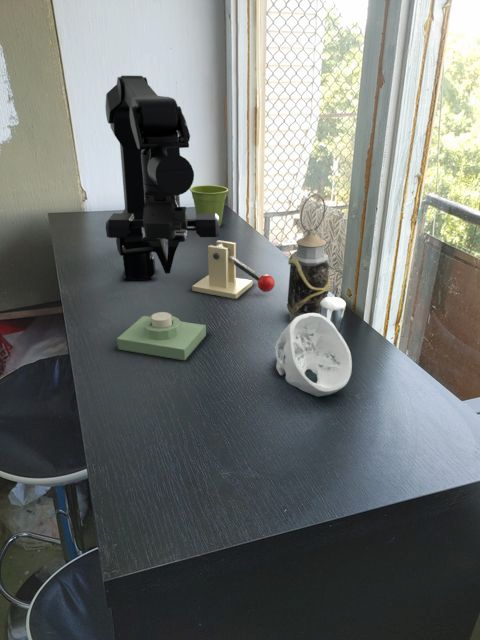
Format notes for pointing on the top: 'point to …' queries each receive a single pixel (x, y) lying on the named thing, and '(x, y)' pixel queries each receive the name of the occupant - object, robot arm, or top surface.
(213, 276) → the bracket
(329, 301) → the milkshake
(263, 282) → the lever
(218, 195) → the plant pot
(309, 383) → the skull bowl
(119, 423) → the top surface
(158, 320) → the button
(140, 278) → the robot arm
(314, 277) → the lantern
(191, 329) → the block
